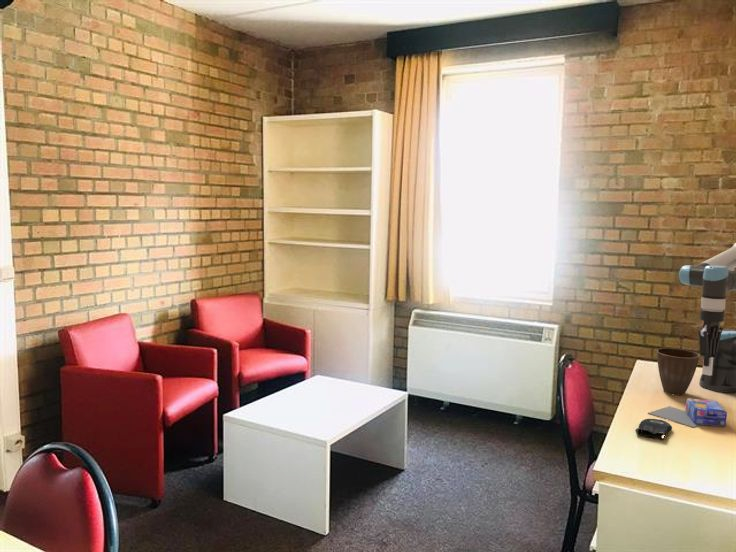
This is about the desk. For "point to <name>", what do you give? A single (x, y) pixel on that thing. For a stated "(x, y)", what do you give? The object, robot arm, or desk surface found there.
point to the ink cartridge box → (706, 412)
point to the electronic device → (653, 427)
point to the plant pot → (676, 369)
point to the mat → (674, 416)
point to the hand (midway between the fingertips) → (707, 374)
